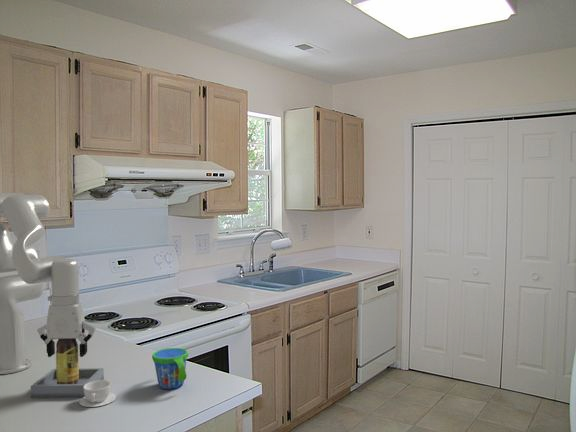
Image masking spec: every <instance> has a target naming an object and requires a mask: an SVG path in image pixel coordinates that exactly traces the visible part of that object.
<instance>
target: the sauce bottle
mask: <svg viewBox="0 0 576 432" xmlns="http://www.w3.org/2000/svg"><path fill="white" fill-rule="evenodd" d="M56 341H57V342H56V345H55V349H56V350H55V363H56V365H55V367H56V368H55V369H56V380H57V384H77V383H78V378H79V368H80V365H79V344H78V341H77V338H76V339H57V340H56Z"/></svg>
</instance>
